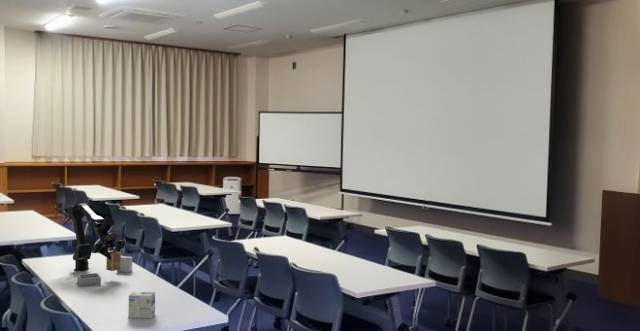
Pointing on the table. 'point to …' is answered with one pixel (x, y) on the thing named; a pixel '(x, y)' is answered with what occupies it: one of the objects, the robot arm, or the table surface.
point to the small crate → (114, 261)
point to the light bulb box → (141, 305)
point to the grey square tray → (89, 279)
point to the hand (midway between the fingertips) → (115, 258)
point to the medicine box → (126, 264)
